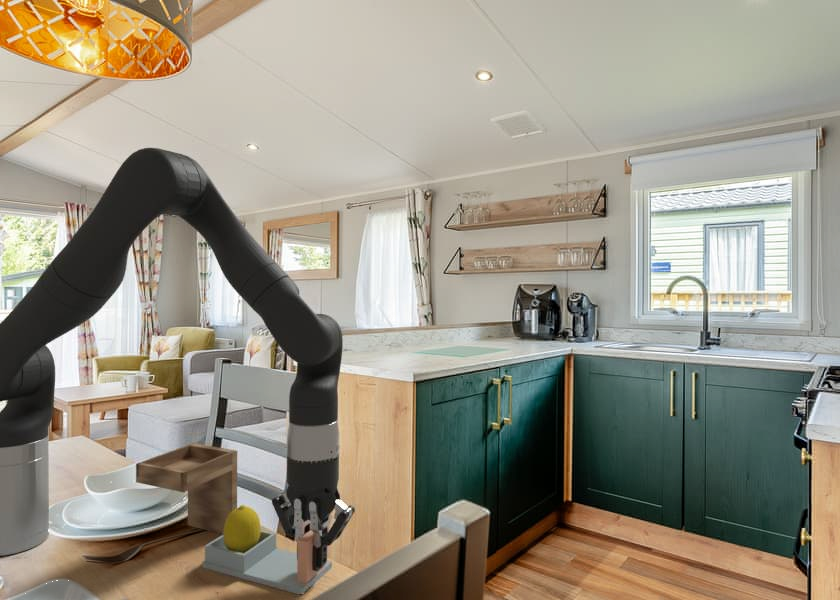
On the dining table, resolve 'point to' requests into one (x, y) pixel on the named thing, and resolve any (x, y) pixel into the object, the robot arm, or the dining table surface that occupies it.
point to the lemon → (242, 529)
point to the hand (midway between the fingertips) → (312, 566)
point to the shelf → (197, 481)
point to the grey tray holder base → (267, 563)
